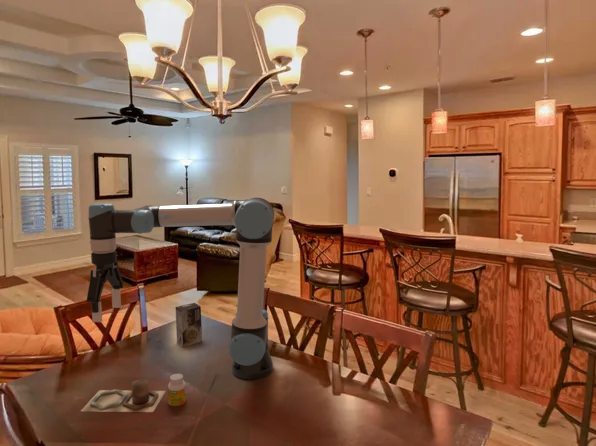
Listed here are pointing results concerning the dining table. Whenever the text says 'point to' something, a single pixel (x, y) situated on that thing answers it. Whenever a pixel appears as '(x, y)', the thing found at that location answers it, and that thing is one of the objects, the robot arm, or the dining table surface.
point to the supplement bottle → (176, 390)
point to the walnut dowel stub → (140, 391)
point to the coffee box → (188, 324)
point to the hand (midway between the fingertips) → (107, 314)
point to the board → (121, 402)
